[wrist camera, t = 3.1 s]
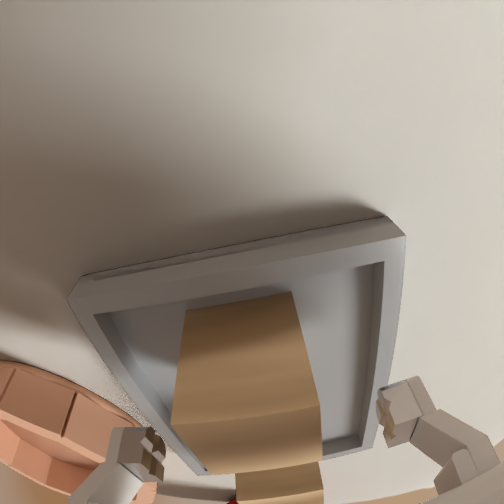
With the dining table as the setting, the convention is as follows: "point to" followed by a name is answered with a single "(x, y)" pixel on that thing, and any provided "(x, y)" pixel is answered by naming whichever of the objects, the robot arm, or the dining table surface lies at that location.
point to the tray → (254, 286)
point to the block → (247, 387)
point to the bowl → (56, 429)
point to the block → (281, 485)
